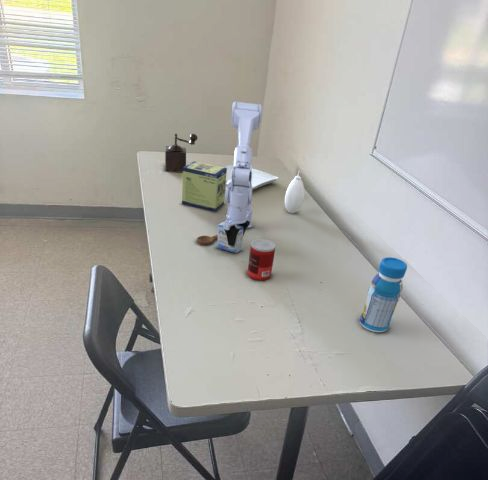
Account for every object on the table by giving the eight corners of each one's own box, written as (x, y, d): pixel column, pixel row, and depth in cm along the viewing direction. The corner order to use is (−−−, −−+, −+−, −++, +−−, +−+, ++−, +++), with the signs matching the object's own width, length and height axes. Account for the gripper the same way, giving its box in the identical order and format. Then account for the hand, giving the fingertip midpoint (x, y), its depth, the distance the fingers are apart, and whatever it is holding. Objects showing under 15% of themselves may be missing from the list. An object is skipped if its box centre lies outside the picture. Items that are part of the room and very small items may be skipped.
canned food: (273, 272, 145) (278, 242, 139) (266, 283, 139) (271, 252, 133) (251, 267, 147) (255, 236, 140) (243, 277, 141) (247, 246, 134)
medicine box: (216, 247, 155) (217, 224, 150) (223, 243, 159) (224, 220, 154) (236, 253, 152) (237, 229, 148) (242, 249, 156) (244, 225, 151)
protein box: (215, 212, 182) (218, 174, 173) (181, 204, 185) (182, 166, 176) (224, 204, 190) (227, 167, 181) (191, 196, 193) (192, 160, 184)
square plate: (235, 170, 231) (235, 162, 229) (278, 184, 219) (280, 176, 217) (201, 180, 212) (201, 172, 210) (247, 196, 201) (248, 188, 198)
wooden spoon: (224, 231, 167) (224, 229, 166) (233, 237, 164) (234, 234, 164) (193, 241, 158) (193, 238, 157) (203, 246, 155) (203, 243, 154)
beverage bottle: (370, 335, 122) (392, 272, 110) (353, 318, 128) (371, 256, 116) (394, 330, 125) (418, 268, 113) (376, 314, 131) (396, 253, 119)
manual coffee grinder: (164, 171, 217) (164, 132, 206) (164, 164, 226) (164, 127, 215) (196, 173, 219) (197, 135, 209) (195, 166, 228) (196, 129, 218)
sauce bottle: (292, 217, 186) (299, 174, 176) (279, 210, 191) (285, 168, 180) (304, 213, 191) (312, 171, 180) (291, 207, 195) (298, 166, 185)
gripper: (239, 196, 152) (235, 232, 160) (216, 207, 141) (213, 246, 149) (257, 201, 150) (252, 238, 157) (235, 213, 139) (231, 252, 147)
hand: (234, 242), depth 153 cm, fingers closed on medicine box, 4 cm apart
